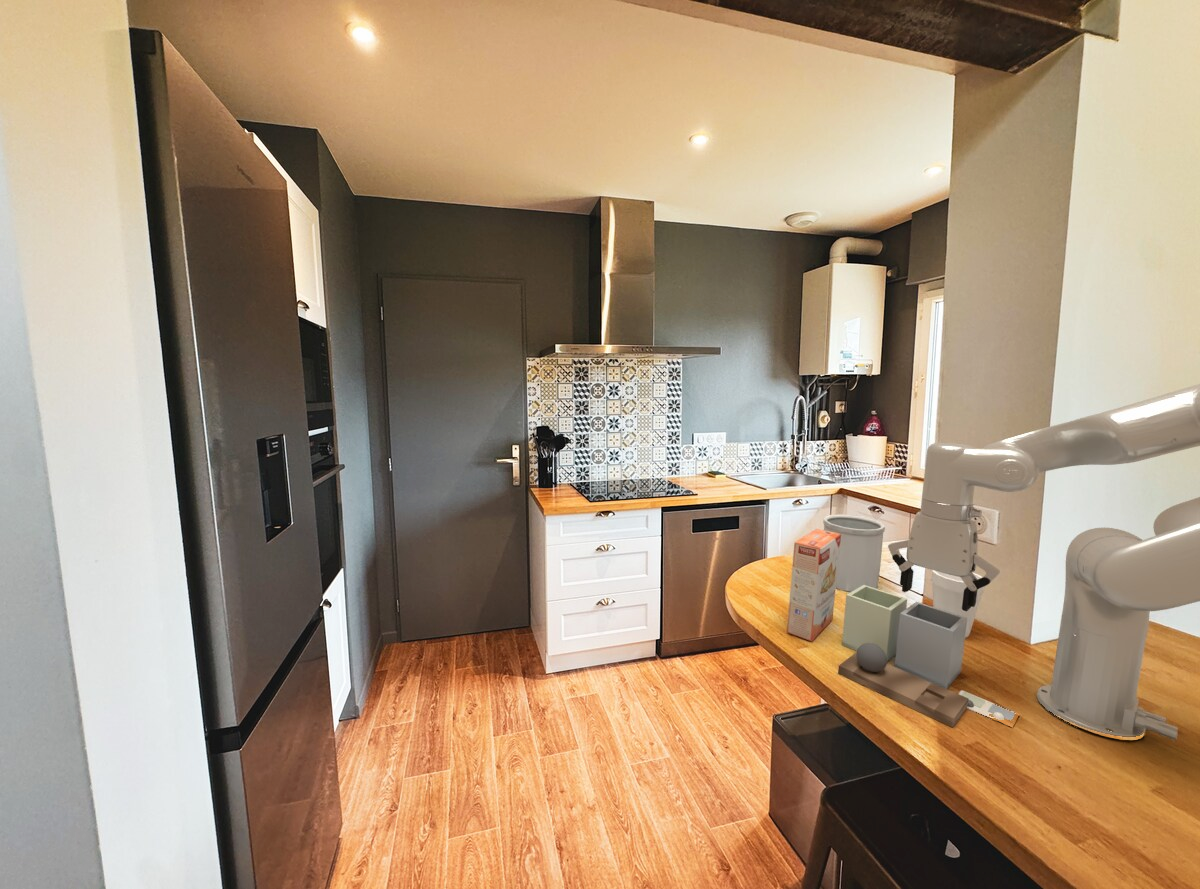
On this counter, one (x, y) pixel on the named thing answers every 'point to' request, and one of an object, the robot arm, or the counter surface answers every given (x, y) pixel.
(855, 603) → the sage pot
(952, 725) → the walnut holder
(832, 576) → the cracker box
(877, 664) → the charcoal ball
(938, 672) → the slate pot
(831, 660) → the counter surface
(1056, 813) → the counter surface
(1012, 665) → the counter surface
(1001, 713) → the card
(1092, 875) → the counter surface
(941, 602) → the foam cup
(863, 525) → the utensil holder
